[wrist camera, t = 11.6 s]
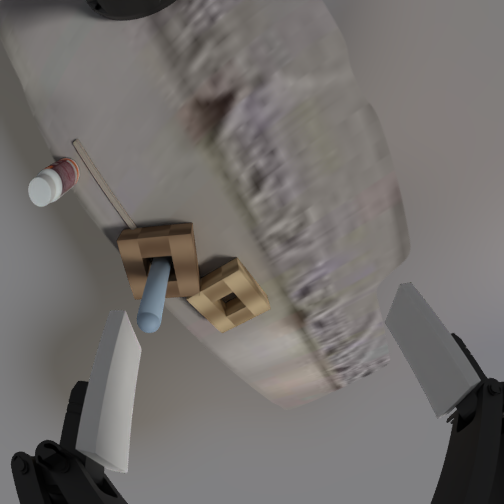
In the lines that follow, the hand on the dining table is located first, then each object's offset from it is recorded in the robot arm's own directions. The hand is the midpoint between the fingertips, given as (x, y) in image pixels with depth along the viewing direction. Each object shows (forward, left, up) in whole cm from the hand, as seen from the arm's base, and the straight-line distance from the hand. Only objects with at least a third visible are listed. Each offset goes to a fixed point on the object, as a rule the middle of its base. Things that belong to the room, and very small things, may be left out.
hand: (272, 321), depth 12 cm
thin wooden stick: (+1, -19, -29) cm, 34 cm away
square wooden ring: (+14, -12, -29) cm, 34 cm away
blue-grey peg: (+14, -12, -29) cm, 34 cm away
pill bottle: (-2, -25, -29) cm, 38 cm away
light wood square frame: (+22, -2, -29) cm, 36 cm away
